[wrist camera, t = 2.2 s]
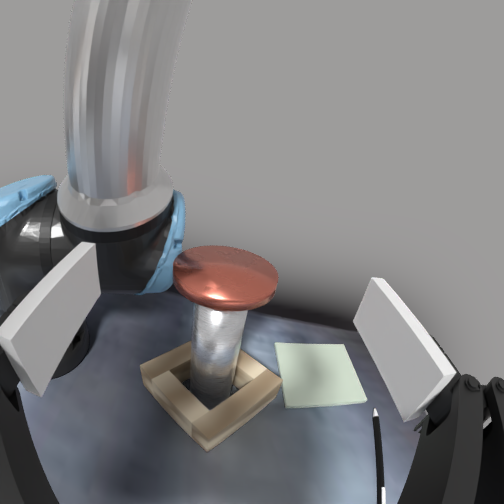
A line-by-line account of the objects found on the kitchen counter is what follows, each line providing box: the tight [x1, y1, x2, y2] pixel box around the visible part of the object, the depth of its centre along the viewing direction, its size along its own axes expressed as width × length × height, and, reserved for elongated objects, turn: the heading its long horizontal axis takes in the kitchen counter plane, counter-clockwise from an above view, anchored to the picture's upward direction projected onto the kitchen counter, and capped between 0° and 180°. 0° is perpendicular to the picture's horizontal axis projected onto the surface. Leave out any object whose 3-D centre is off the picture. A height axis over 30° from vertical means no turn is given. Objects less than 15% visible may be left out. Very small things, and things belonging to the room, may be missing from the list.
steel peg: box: [173, 246, 278, 410], centre depth 27 cm, size 9×9×18 cm
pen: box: [373, 408, 385, 504], centre depth 22 cm, size 1×19×1 cm, turn 169°
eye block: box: [140, 340, 283, 452], centre depth 29 cm, size 12×12×4 cm
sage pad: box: [274, 343, 367, 408], centre depth 36 cm, size 12×12×1 cm
